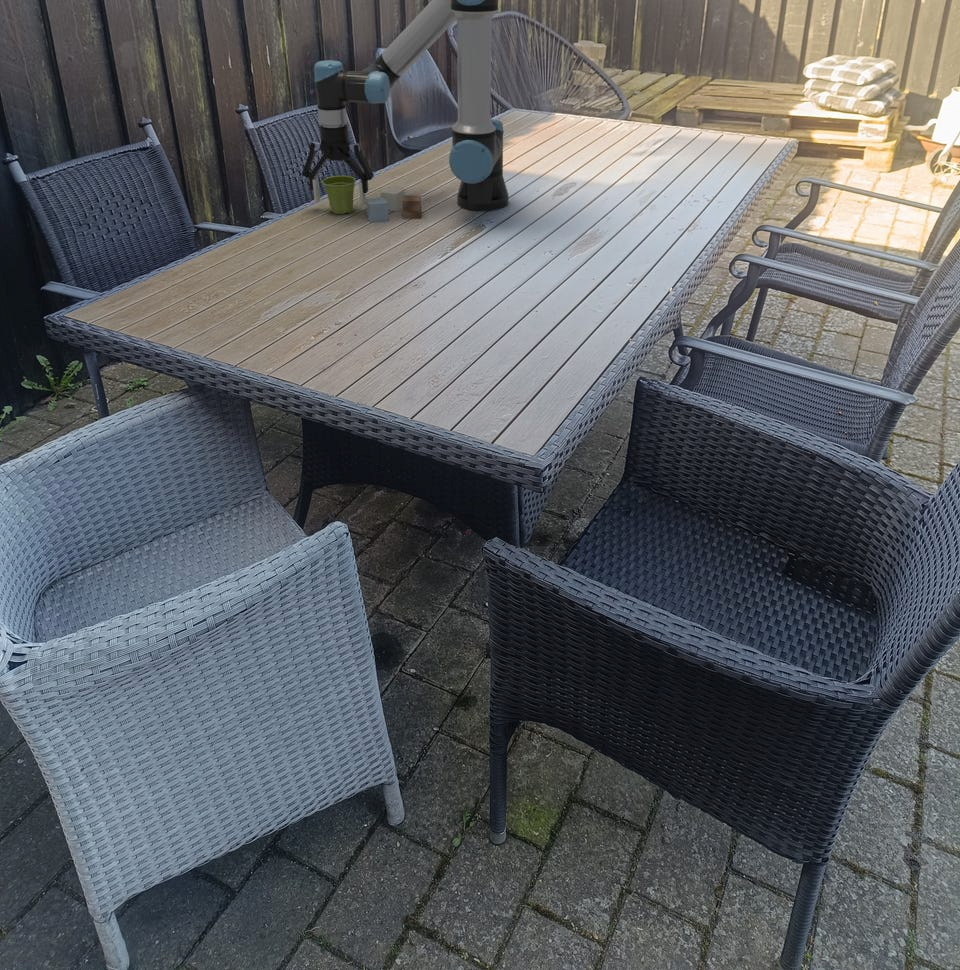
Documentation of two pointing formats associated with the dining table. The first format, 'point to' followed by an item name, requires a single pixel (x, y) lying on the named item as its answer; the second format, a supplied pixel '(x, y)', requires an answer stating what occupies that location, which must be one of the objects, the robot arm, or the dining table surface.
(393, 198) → the cream block
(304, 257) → the dining table surface
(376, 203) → the slate blue block
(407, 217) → the walnut block
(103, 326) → the dining table surface
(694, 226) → the dining table surface
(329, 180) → the plant pot
